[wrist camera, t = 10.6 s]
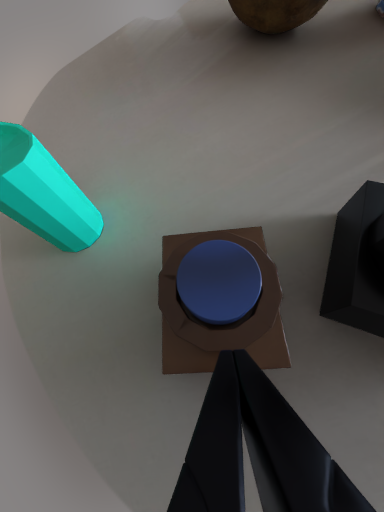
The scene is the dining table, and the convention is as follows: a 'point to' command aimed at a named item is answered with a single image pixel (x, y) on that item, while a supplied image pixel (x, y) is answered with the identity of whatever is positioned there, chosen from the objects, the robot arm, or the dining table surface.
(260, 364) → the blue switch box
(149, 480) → the dining table surface
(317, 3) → the bowl
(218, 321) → the blue button
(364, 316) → the switch box
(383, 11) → the lantern
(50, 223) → the candle
